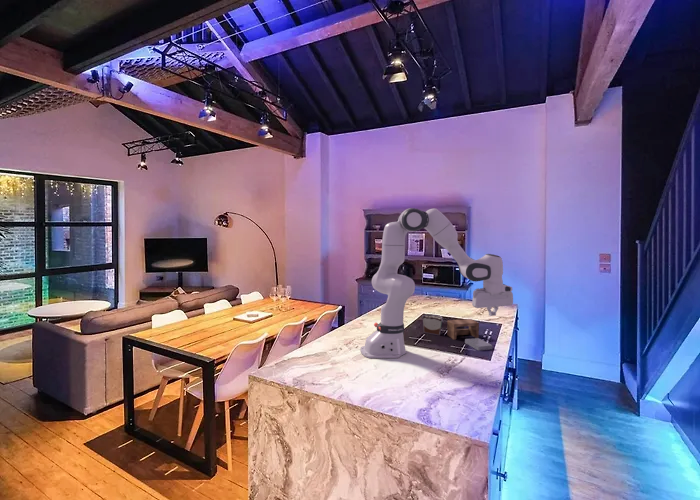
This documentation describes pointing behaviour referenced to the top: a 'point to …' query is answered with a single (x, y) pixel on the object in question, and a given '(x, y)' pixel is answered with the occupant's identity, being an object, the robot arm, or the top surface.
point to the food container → (432, 323)
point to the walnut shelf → (453, 330)
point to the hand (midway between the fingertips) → (492, 315)
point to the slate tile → (478, 344)
